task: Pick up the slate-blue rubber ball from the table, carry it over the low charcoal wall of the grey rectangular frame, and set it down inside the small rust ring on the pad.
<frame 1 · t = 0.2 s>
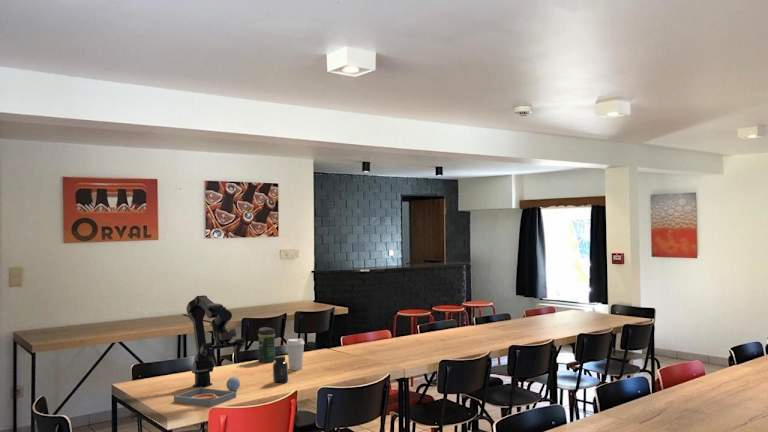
hand: (227, 364, 275), 15 cm above the table, tool tilted 30°, fingers open, 9 cm apart
supplement bottle: (280, 382, 304), on the table
coffee cup: (295, 369, 333), on the table
ball: (233, 384, 289), point 3 cm above the table
grey rectangular frame: (205, 399, 274), on the table
coffee jar: (266, 361, 354), on the table
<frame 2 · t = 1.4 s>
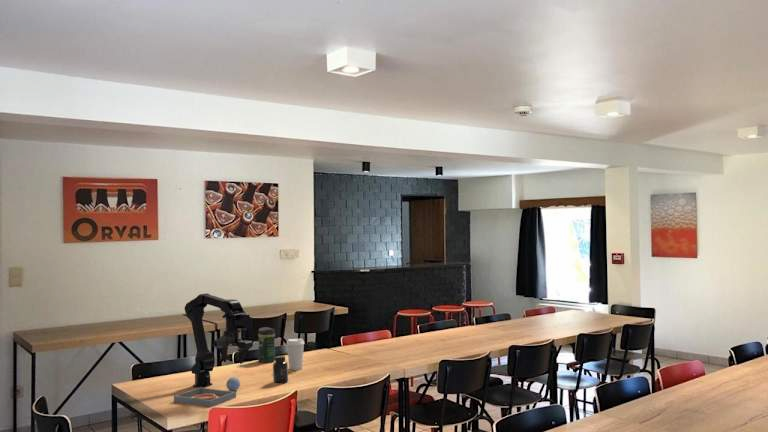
hand: (232, 362, 289), 13 cm above the table, tool pointing down, fingers open, 9 cm apart
nothing on the table moved.
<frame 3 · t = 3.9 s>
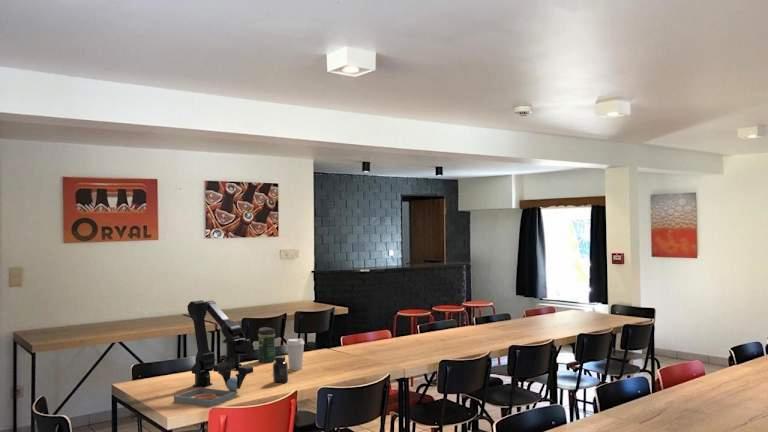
hand: (233, 388, 289), 1 cm above the table, tool pointing down, fingers closed on ball, 6 cm apart
ball: (233, 384, 289), point 3 cm above the table, touching gripper
everything else where it was.
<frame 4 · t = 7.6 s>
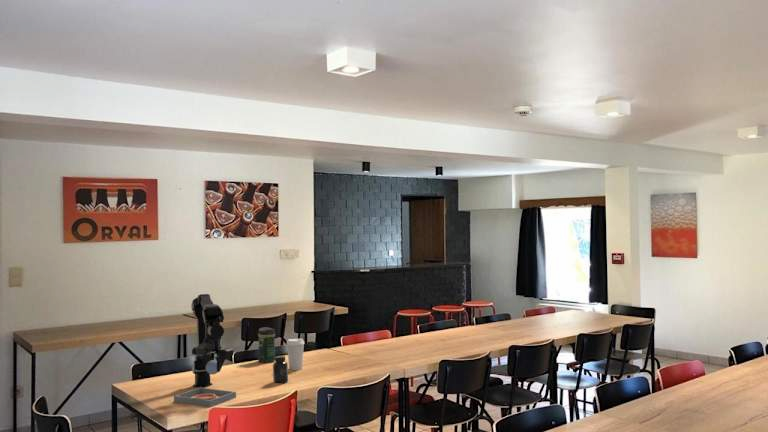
hand: (212, 371, 278), 11 cm above the table, tool pointing down, fingers closed on ball, 6 cm apart
ball: (212, 367, 278), point 13 cm above the table, touching gripper
everything else where it was.
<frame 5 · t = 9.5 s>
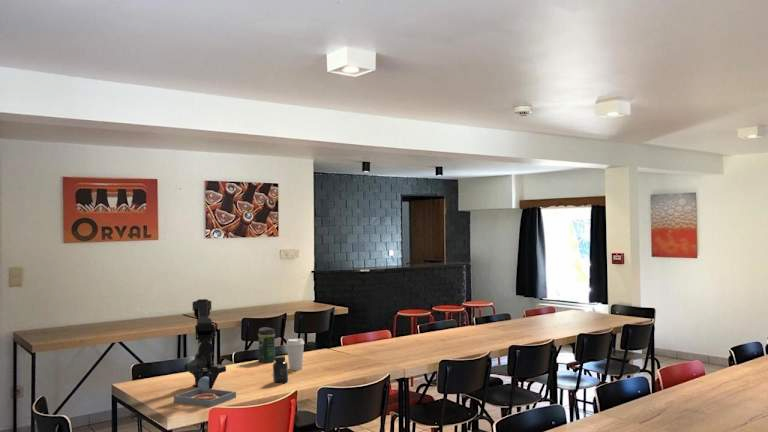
hand: (205, 387, 275), 5 cm above the table, tool pointing down, fingers closed on ball, 6 cm apart
ball: (205, 383, 275), point 7 cm above the table, touching gripper
everything else where it was.
when the fingers open (3 cm above the table, at t = 11.3 s): ball stays where it is, resting on grey rectangular frame.
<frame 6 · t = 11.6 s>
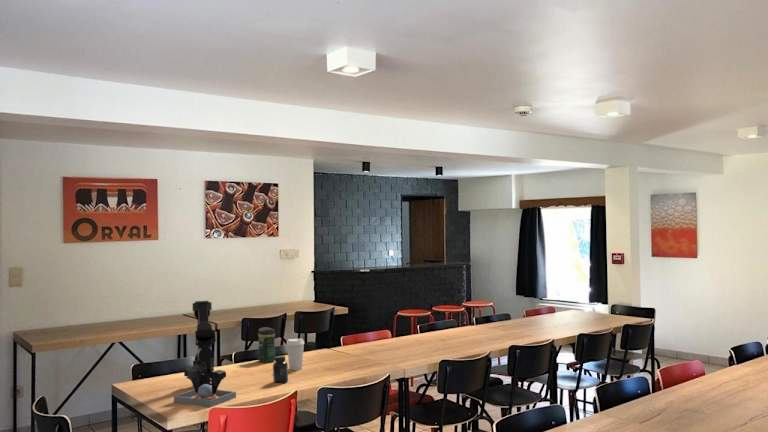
hand: (205, 393, 275), 3 cm above the table, tool pointing down, fingers open, 9 cm apart
ball: (205, 391, 275), point 4 cm above the table, touching grey rectangular frame
everything else where it was.
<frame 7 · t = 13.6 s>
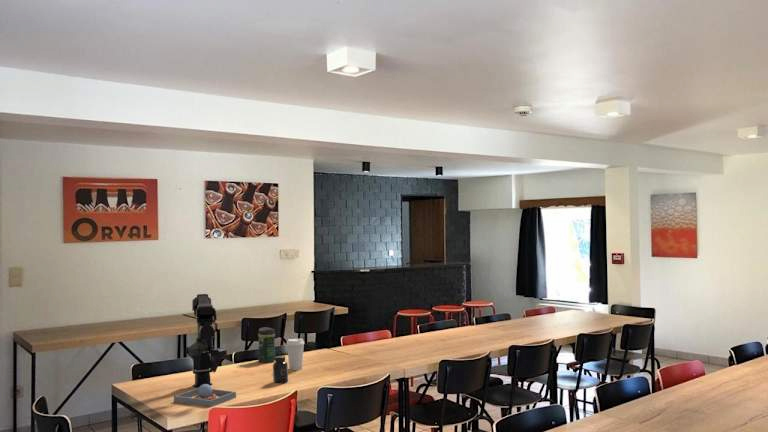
hand: (206, 371, 276), 12 cm above the table, tool pointing down, fingers open, 9 cm apart
nothing on the table moved.
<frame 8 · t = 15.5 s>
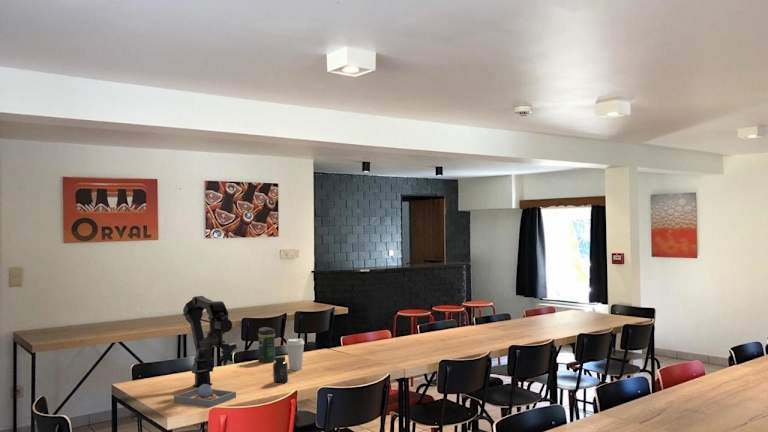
hand: (216, 364, 289), 12 cm above the table, tool pointing down, fingers open, 9 cm apart
nothing on the table moved.
at the end: ball 0.1 cm off-centre on the grey rectangular frame, point 3.6 cm above the grey rectangular frame's base; ball touching grey rectangular frame; the gripper is holding nothing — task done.
